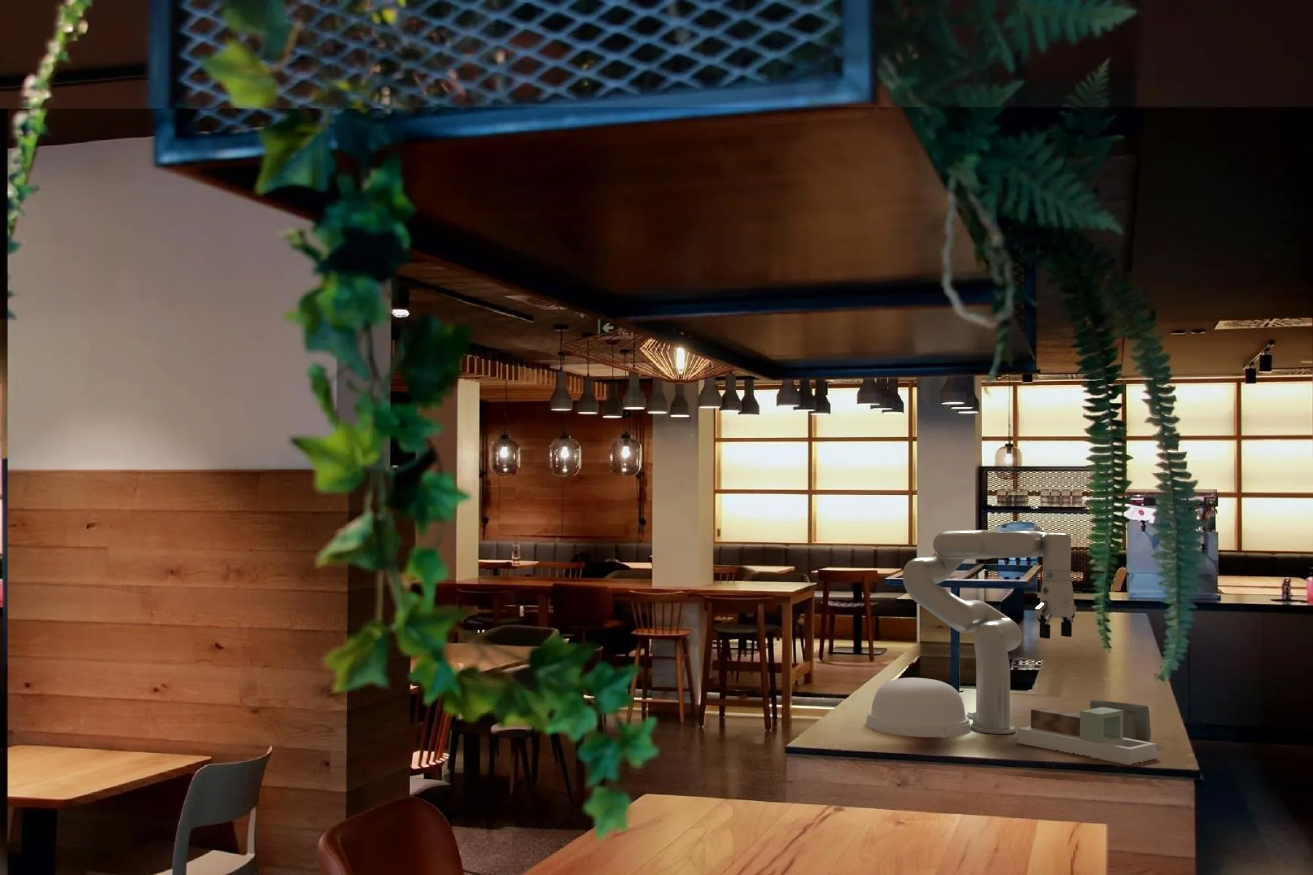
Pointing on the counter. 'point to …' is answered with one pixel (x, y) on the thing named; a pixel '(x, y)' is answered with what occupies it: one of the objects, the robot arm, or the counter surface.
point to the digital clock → (1130, 718)
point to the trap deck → (1090, 746)
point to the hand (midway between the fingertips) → (1055, 637)
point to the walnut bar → (1055, 721)
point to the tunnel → (1101, 724)
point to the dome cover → (918, 709)
